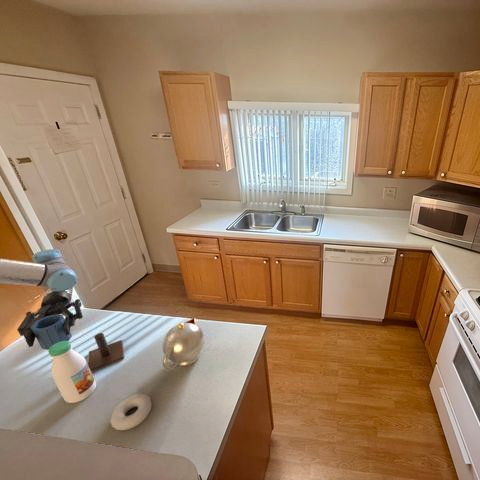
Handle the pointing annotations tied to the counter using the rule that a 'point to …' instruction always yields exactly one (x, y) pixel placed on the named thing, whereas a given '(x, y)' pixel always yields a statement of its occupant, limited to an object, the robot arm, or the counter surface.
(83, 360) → the milk bottle
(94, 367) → the post stand
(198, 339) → the teapot
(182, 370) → the counter surface
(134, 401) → the donut
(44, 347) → the ring sleeve
